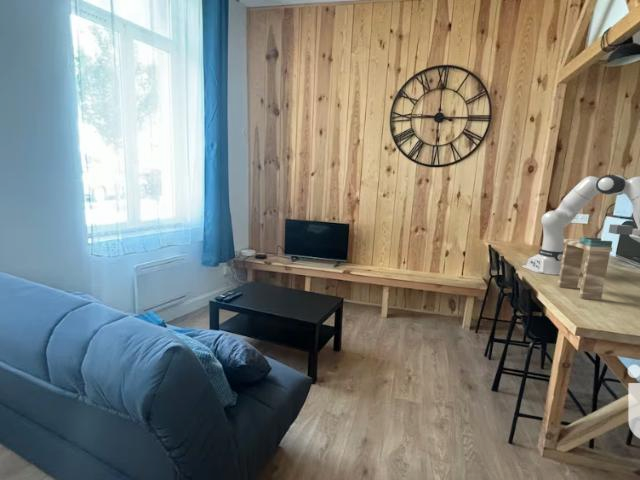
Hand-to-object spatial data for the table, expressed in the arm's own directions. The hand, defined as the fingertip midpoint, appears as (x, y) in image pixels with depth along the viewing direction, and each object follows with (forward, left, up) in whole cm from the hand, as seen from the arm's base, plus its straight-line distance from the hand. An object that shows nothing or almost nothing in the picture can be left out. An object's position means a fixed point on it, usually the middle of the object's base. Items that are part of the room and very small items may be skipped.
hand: (638, 230), depth 170 cm
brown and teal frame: (-12, -15, -34) cm, 39 cm away
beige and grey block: (-1, -3, -2) cm, 4 cm away
